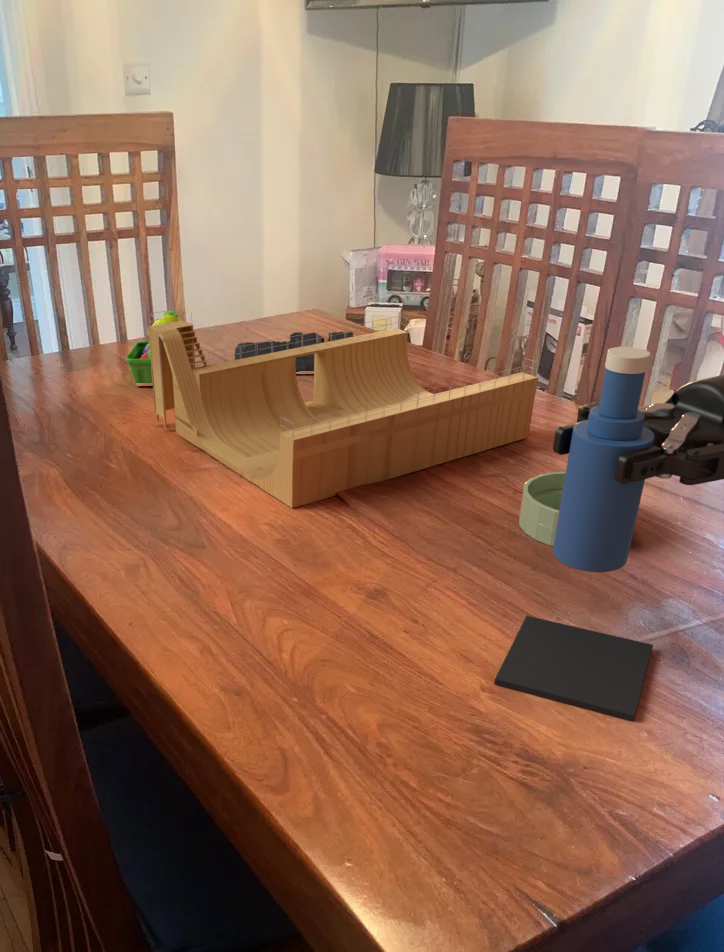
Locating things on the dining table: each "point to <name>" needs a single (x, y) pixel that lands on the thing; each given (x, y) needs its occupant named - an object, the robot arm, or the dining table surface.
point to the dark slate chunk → (288, 347)
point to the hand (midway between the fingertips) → (587, 455)
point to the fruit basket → (146, 354)
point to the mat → (576, 667)
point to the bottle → (604, 471)
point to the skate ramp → (329, 412)
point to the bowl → (542, 506)
